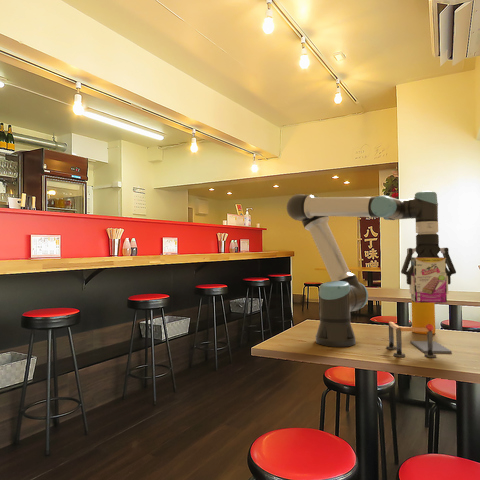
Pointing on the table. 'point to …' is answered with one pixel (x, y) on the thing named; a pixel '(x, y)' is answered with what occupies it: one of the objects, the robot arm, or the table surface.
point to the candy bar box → (429, 280)
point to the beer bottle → (423, 315)
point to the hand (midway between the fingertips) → (428, 293)
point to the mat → (436, 347)
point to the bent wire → (399, 341)
